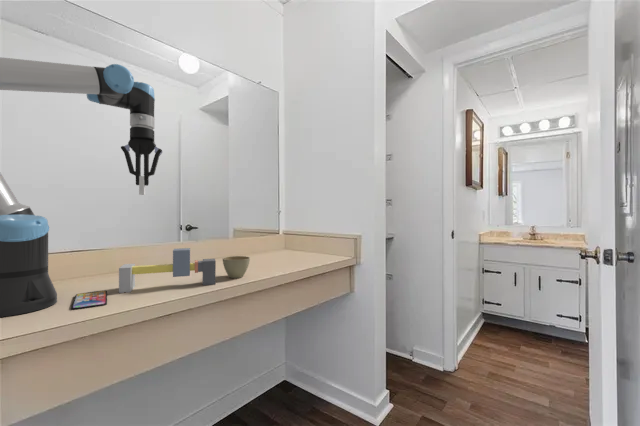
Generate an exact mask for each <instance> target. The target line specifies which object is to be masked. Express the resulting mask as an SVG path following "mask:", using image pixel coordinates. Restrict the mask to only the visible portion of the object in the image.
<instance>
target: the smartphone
mask: <svg viewBox="0 0 640 426" xmlns="http://www.w3.org/2000/svg"><path fill="white" fill-rule="evenodd" d="M107 298H108V291H107V290H97V291H89V292H88V291H87V292H81V293H76V294H75V296H74V299H73V301H72V305H71V311H76V310H78V311H79V310H84V309H90V308H96V307H104V306H107V305H108V304H107V303H108V299H107Z"/></svg>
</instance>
